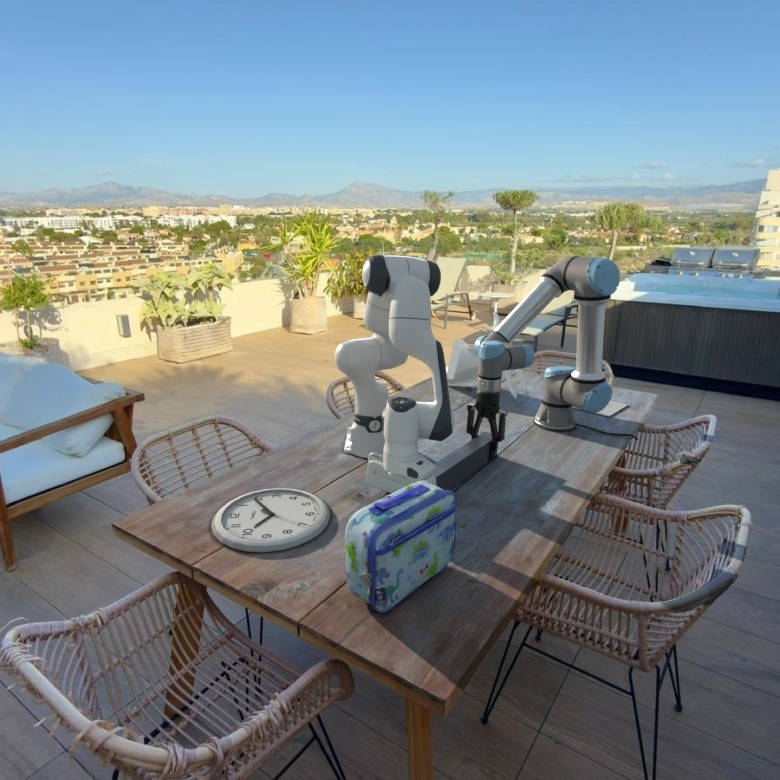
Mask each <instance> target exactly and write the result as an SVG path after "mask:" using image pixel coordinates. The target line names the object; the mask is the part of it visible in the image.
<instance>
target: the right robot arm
mask: <svg viewBox="0 0 780 780" xmlns="http://www.w3.org/2000/svg"><path fill="white" fill-rule="evenodd" d="M620 280H621V272H620V269H619V267H618V265H617V264H616V263H615V262H614V261H613V260H612V259H609V258H604V257H601V256H600V257H599V256H580V255H572V256H571V255H570V256H567V257H565V258H563V259H561V260H559V261H557V262H556V263H554V264H552V266H550V267H549V268H548V269H546V271H545V272H544V273H543V274H542V275H541V276H540V277H539V278H538V281H537V282H538V283H537V284H536V285H535V286H534V287H533V289H531V290H530V291H529V293H528V294H527V295H526V296H525V297H523V299H522V300H521V301H520V302H519V303H518V304H517V305H516V306H515V307H514V309H513V310H511V311H510V312H509V313H508V314H507V316H505V318H504V319H503V320H502V321H501V323H500V324H499V325H498V326H497V325H496V327H495V328H494V329H493V330H492V332H491V333H490V334H488V336H487V335H482V336H479V337H478V338H477V339H476V340H475V341H474V345H473V347H474V351H475V353H476V354H477V355H478V356H479V362H478V379H477V383H476V389H477V390H476V391H475V392H476V394H475V403H470V404H467V405H466V410H467V419H466V430H465V432H466V434H469V435H470V441H471V440H472V439H474V438H475V437H477V436H478V435H479V431H480V428H481V425H482V423H483V420H484V419H487V422H488V424H489V428H490V433H491V435H492V441H491V442H490V450H489V460H490V461H489V462H491V461H492V460H494V459H495V457H496V456H495V451H496V450H497V451H498V449H499V443H502V442H503V441H504V440H505V437H506V422H507V421H506V420H507V416H508V415H509V412H508V411H506V410H505V411H504V410H502V409H501V407H500V402H501V391H502V390H501V389H502V378H503V372H504V371H505V370H509V371H512V370H517V369H522V370H523V369H526V368H529V367H531V366H532V365H533V364H534V362H535V356H536V355H535V351H534V349H533V347H532V346H530V345H529V344H513V342H514V341H516V339H517V338H518V337H519V336H520V335H521V334H522V333H523V332H524V331H525V330H526V329H527V328H528V326H529V325H530V324H532V322H533V321H534V320H535V319H536V318H537V317H538V316H539V315H540V314H541V313H542V312H543V311H544V310H545V309H546V308H547V306H548V305H549V304H550V303H551V302H552V301H553V300H554V299H557V298H560V297H561V296H562V295H563V294H564V293H566V292H568V291H573V299H574V301H575V302H576V303H577V304H578V306H577V307H578V308H577V330H576V331H577V332H576V351H575V352H576V356H575V357H576V358H575V367H574V366H566V365H565V366H564V365H557V366H550V367H547V368H546V369H545V370H544V375H543V381H542V392H541V402H540V405H539V407H538V410H537V411H536V413H535V417H534V424H535V425H536V426H537V427H539V428H542V429H544V430H549V431H556V432H567V431H572V430H574V429H575V428H576V426H578V427H581V428H583V429H584V428H585V429H587V430H592V431H594V432H598V433H601V434H605V435H607V436H608V435H609V436H620V437H632V438H633V439H634V440H636V441H638V440H639V438H638V437H637V436H636V435H634V434H631V433H618V432H608V431H604V430H600V429H597V428H594V427H591V426H588V425H584V424H581V423H577V422H576V418H575V417H576V416H575V413H574V407H577V408H579V409H578V410H580V409H582V410H581V411H583V412H587V413H590V414H596V413H597V412H600V411H601V410H603V409H604V408H605V407H606V406H607V405H608V403H609V402H610V401H612V400H611V399H612V397H613V388H612V386H611V384H609V383H608V382H607V381H606V379H607V378H606V377H607V374H606V373H605V372H604V371H603V370H602V368H603V367H602V366H603V353H604V352H603V351H604V334H605V333H604V332H605V319H606V317H605V316H606V303H607V302H608V301H610V300H611V297H612V295H613V294H614V293H615V292H616V291H617V290H618V287H619V285H620V283H621V281H620ZM476 411H477V413H476ZM475 413H476V417H475ZM497 415H498V424H497ZM475 418H476V419H475Z"/></svg>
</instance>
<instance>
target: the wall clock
mask: <svg viewBox="0 0 780 780" xmlns="http://www.w3.org/2000/svg"><path fill="white" fill-rule="evenodd" d="M330 518H331V512H330V507H329V506H328V505H327V503H326V502H325V501H324V500H323V499H322V498H321V497H318V496H317V495H315V494H313V493H310V492H308V491H305V490H300V489H295V488H286V487H285V488H284V487H283V488H281V487H275V488H267V489H266V488H264V489H261V490H260V489H259V490H255V491H251V492H248V493H245V494H243V495H242V494H241V495H239V496H237V497H235V498H234V499H232V500H230V501H228V502H227V503H226V504H224V505H223V506H222V507H220V508H219V509H218V510H217V511H216V513H215V515H214V516H213V517H212V521H211V526H210V528H211V531H212V534H213V536H214V538H216V540H217V541H219V542H220V544H223V545H224V546H227V547H229V548H230V549H232V550H233V549H234V550H237V551H242V552H245V553H246V552H247V553H270V552H280V551H285V550H288V549H292V548H295V547H298V546H301V545H304V544H305V543H308V542H309V541H312V540H313V539H314V538H316V537H318V536H319V535H320V534H322V533H323V531H325V529H326V528H327V526H328V525H329V522H330Z"/></svg>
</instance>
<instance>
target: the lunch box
mask: <svg viewBox="0 0 780 780" xmlns="http://www.w3.org/2000/svg"><path fill="white" fill-rule="evenodd" d="M456 531H457V499H456V495H455V493H454V492H453V490H443V489H441V488H439V487H437V486H435V485H433V484H432V483H430V482H428V481H418V482H416V483H413V484H411V485H409V486H406V487H404V488H402V489H400V490H398V491H396V492H394V493H392V494H390V495H388V496H386V497H384V498H382V499H380V498H379V499H378V500H376V501H374V502H372V503H370V504H368V505H366V506H364V507H361V508H360V509H358V510H357V511H356V512H355V511H354V513H352V515H351V517H350V518H349V520H348V521H347V524H346V526H345V531H344V552H345V577H346V578H345V580H346V586H347V589H348V592H349V593H350V594H352V595H354V596H356V597H357V598H359V599H361V600H363V602H365V603H367V604H368V605H370V607H371V608H372V609H373V610H375V611H376V612H378V613H380V614H382V613H383V614H385V613H387V612H389V611H391V609H393V608H394V607H395V606H396V605H397V604H400V602H401V601H402V600H404V599H406V597H409V596H410V595H411V594H412V593H414V592H415V591H416V590H417V589H418V588H420V587H421V586H422V585H423V584H424V583H425V582H427V581H428V580H430V579H432V578H433V577H434V576H436V575H437V574H439V573H441V572H442V571H443V570H445V568H446V567H447V566H448V564H449V563H450V561H451V560H452V557H453V554H454V551H455V548H456V547H455V546H456Z"/></svg>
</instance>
